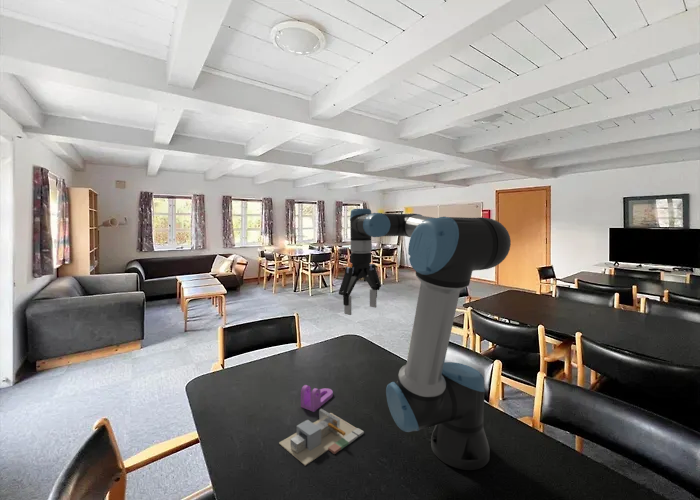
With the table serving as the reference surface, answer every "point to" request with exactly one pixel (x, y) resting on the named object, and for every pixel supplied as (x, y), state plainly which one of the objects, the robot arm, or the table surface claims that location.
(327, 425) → the grey sliding clamp
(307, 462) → the beige mechanism board
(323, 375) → the table surface
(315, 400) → the bracket
